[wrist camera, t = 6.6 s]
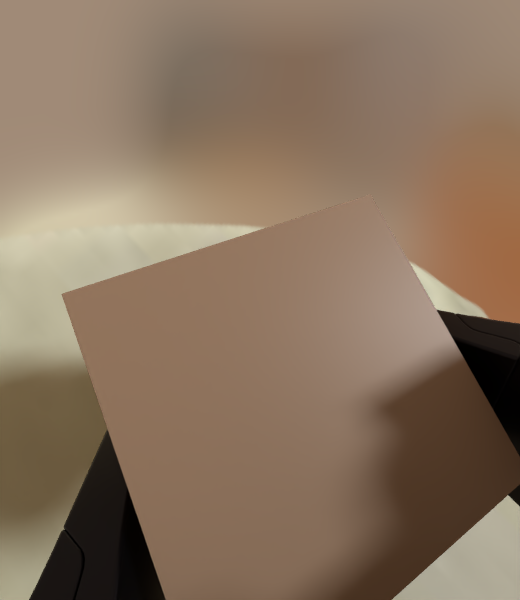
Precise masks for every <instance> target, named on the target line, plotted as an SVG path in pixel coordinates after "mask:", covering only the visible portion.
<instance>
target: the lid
mask: <svg viewBox="0 0 520 600" xmlns="http://www.w3.org/2000/svg"><path fill="white" fill-rule="evenodd" d="M62 297H63V300H64V302H65V305H66V308H67V311H68V314H69V317H70V320H71V323H72V326H73V329H74V332H75V335H76V338H77V341H78V344H79V346H80V349H81V352H82V355H83V358H84V361H85V364H86V367H87V370H88V373H89V376H90V379H91V382H92V385H93V388H94V391H95V393H96V396H97V399H98V402H99V405H100V408H101V411H102V414H103V417H104V420H105V423H106V426H107V429H108V432H109V435H110V437H111V440H112V443H113V446H114V449H115V452H116V455H117V458H118V461H119V464H120V467H121V470H122V473H123V476H124V479H125V481H126V484H127V487H128V490H129V493H130V496H131V499H132V502H133V505H134V508H135V511H136V514H137V517H138V520H139V523H140V525H141V528H142V531H143V534H144V537H145V540H146V543H147V546H148V549H149V552H150V555H151V558H152V561H153V564H154V567H155V570H156V572H157V575H158V578H159V581H160V584H161V587H162V590H163V593H164V596H165V599H166V600H392V599H393V598H394V597H395V596H396V595H397V594H398V593H399V592H401V591H402V590H403V589H404V588H405V587H406V586H407V585H408V584H409V583H411V582H412V581H413V580H414V579H415V578H416V577H417V576H418V575H419V574H421V573H422V572H423V571H424V570H425V569H426V568H427V567H428V566H430V565H431V564H432V563H433V562H434V561H435V560H436V559H437V558H438V557H440V556H441V555H442V554H443V553H444V552H445V551H446V550H447V549H448V548H450V547H451V546H452V545H453V544H454V543H455V542H456V541H457V540H458V539H460V538H461V537H462V536H463V535H464V534H465V533H466V532H467V531H468V530H470V529H471V528H472V527H473V526H474V525H475V524H476V523H477V522H478V521H480V520H481V519H482V518H483V517H484V516H485V515H486V514H487V513H488V512H490V511H491V510H492V509H493V508H494V507H495V506H496V505H497V504H498V503H500V502H501V501H502V500H503V499H504V498H505V497H506V496H507V495H508V494H510V493H511V492H512V491H513V490H514V489H515V488H516V487H517V486H518V485H520V456H519V454H518V453H517V451H516V449H515V447H514V446H513V444H512V442H511V440H510V439H509V437H508V435H507V433H506V432H505V430H504V428H503V426H502V424H501V423H500V421H499V419H498V417H497V416H496V414H495V412H494V410H493V409H492V407H491V405H490V403H489V402H488V400H487V398H486V396H485V395H484V393H483V391H482V389H481V388H480V386H479V384H478V382H477V381H476V379H475V377H474V375H473V373H472V372H471V370H470V368H469V366H468V365H467V363H466V361H465V359H464V358H463V356H462V354H461V352H460V351H459V349H458V347H457V345H456V344H455V342H454V340H453V338H452V337H451V335H450V333H449V331H448V329H447V328H446V326H445V324H444V322H443V321H442V319H441V317H440V315H439V314H438V312H437V310H436V308H435V307H434V305H433V303H432V301H431V300H430V298H429V296H428V294H427V293H426V291H425V289H424V287H423V285H422V284H421V282H420V280H419V278H418V277H417V275H416V273H415V271H414V270H413V268H412V266H411V264H410V263H409V261H408V259H407V257H406V256H405V254H404V252H403V250H402V249H401V247H400V245H399V243H398V242H397V240H396V238H395V236H394V234H393V233H392V231H391V229H390V227H389V226H388V224H387V222H386V220H385V219H384V217H383V215H382V213H381V212H380V210H379V208H378V206H377V205H376V203H375V201H374V199H373V198H372V196H371V195H367V196H364V197H361V198H357V199H354V200H351V201H348V202H345V203H342V204H339V205H336V206H333V207H330V208H326V209H324V210H320V211H317V212H314V213H311V214H308V215H305V216H302V217H299V218H295V219H293V220H289V221H286V222H283V223H280V224H277V225H274V226H271V227H268V228H264V229H261V230H258V231H255V232H252V233H249V234H246V235H243V236H240V237H237V238H234V239H230V240H227V241H224V242H221V243H218V244H215V245H212V246H209V247H206V248H203V249H199V250H196V251H193V252H190V253H187V254H184V255H181V256H178V257H175V258H172V259H169V260H165V261H162V262H159V263H156V264H153V265H150V266H147V267H144V268H141V269H138V270H134V271H131V272H128V273H125V274H122V275H119V276H116V277H113V278H110V279H107V280H103V281H100V282H97V283H94V284H91V285H88V286H85V287H82V288H79V289H76V290H73V291H69V292H66V293H63V294H62Z"/></svg>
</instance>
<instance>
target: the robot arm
mask: <svg viewBox="0 0 520 600" xmlns="http://www.w3.org/2000/svg"><path fill="white" fill-rule="evenodd" d="M437 312H438V314H439V315H440V317H441V319H442V321H443V322H444V324H445V326H446V328H447V329H448V331H449V333H450V335H451V337H452V338H453V340H454V342H455V344H456V345H457V347H458V349H459V351H460V352H461V354H462V356H463V358H464V359H465V361H466V363H467V365H468V366H469V368H470V370H471V372H472V373H473V375H474V377H475V379H476V381H477V382H478V384H479V386H480V388H481V389H482V391H483V393H484V395H485V396H486V398H487V400H488V402H489V403H490V405H491V407H492V409H493V410H494V412H495V414H496V416H497V417H498V419H499V421H500V423H501V424H502V426H503V428H504V430H505V432H506V433H507V435H508V437H509V439H510V440H511V442H512V444H513V446H514V447H515V449H516V451H517V453H518V454H519V456H520V324H519V323H511V322H504V321H497V320H490V319H484V318H479V317H473V316H467V315H462V314H454V313H451V312H446V311H440V310H437ZM508 495H509V496H510V497H511V498H512V499H513V500H514V501H515V502H516V503H517V504H518V505H519V506H520V485H518V486H517V487H516V488H515V489H514V490H513V491H512V492H511V493H510V494H508ZM64 529H65V530H62V531H61V533H60V535H59V538H58V540H57V542H56V544H55V547H54V549H53V551H52V553H51V555H50V557H49V560H48V562H47V564H46V566H45V568H44V570H43V572H42V574H41V577H40V579H39V581H38V583H37V585H36V587H35V589H34V591H33V593H32V595H31V597H30V599H29V600H166V599H165V596H164V593H163V590H162V587H161V584H160V581H159V578H158V575H157V572H156V570H155V567H154V564H153V561H152V558H151V555H150V552H149V549H148V546H147V543H146V540H145V537H144V534H143V531H142V528H141V525H140V523H139V520H138V517H137V514H136V511H135V508H134V505H133V502H132V499H131V496H130V493H129V490H128V487H127V484H126V481H125V479H124V476H123V473H122V470H121V467H120V464H119V461H118V458H117V455H116V452H115V449H114V446H113V443H112V440H111V437H110V435H109V432H108V429H107V431H106V433H105V435H104V438H103V440H102V442H101V444H100V447H99V449H98V451H97V453H96V456H95V458H94V460H93V462H92V464H91V467H90V469H89V471H88V473H87V476H86V478H85V480H84V482H83V485H82V487H81V489H80V491H79V493H78V496H77V498H76V500H75V502H74V505H73V507H72V509H71V511H70V513H69V516H68V518H67V520H66V522H65V525H64Z"/></svg>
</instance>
